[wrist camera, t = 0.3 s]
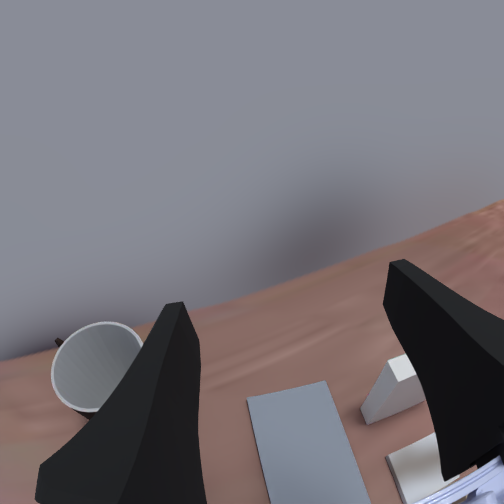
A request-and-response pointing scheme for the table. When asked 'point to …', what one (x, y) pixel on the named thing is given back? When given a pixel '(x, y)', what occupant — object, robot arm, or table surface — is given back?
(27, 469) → the table surface
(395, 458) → the turner
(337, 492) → the mat
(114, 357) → the coffee mug
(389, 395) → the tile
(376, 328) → the table surface
